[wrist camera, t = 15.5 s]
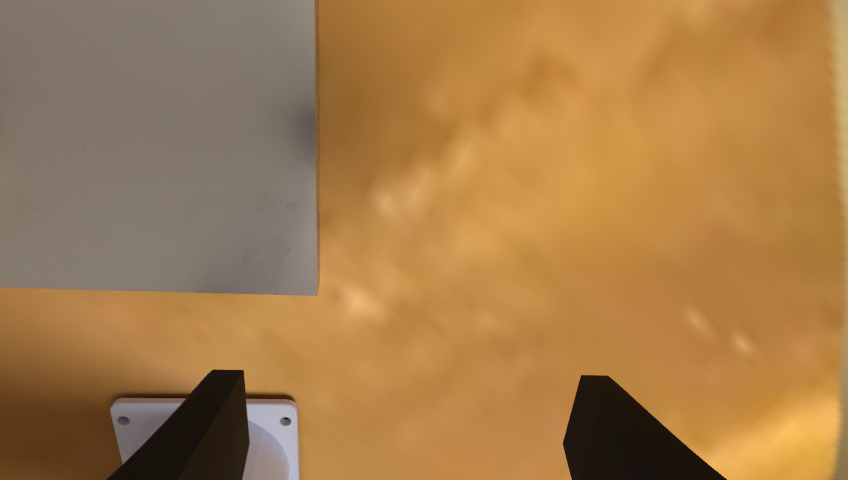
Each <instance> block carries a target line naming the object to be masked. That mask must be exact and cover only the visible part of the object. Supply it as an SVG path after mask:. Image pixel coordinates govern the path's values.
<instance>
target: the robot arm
mask: <svg viewBox="0 0 848 480" xmlns="http://www.w3.org/2000/svg"><path fill="white" fill-rule="evenodd" d="M110 413H111V417H112V421H113V426H114V430H115V434H116V439H117V443H118V447H119V452H120V456H121V460H122V465H121V466H120V467H119V468H118V469H117V470H116V471H115V472H114V473H113V474H112V475H111V476H110V477H109V478H108V479H107V480H300V470H299V437H298V407H297V404H296V403H295V402H294V401H292V400H288V399H246V394H245V382H244V370H212V371H211V372H210V373H209V374H207V376H206V377H205V378H204V379H203V380H202V381H201V382H200V383H199V385H198V386H197V387H196V388H195V389H194V390H193V391H192V393H191V394H190V395H189V396H188V397H187V398H119V399H117V400H115V402H114V403H113V405H112V406H111V408H110ZM122 416H123V417H122ZM124 417H127V418H128V419H126V418H124ZM283 417H288V418H290V419H284V418H283ZM563 446H564V450H565V454H566V458H567V462H568V467H569V470H570V474H571V478H572V480H727V479H726V478H724V477H723V476H722V475H721V474H719V473H718V472H717V471H716V470H714V469H713V468H712V467H711V466H709V465H708V464H707V463H706V462H705V461H703V460H702V459H701V458H700V457H699V456H698V455H696V454H695V453H694V452H693V451H692V450H691V449H689V448H688V447H687V446H686V445H685V444H684V443H682V442H681V441H680V440H679V439H678V438H677V437H676V436H674V435H673V434H672V433H671V432H670V431H669V430H668V429H667V428H666V427H664V426H663V425H662V424H661V423H660V422H659V421H658V420H657V419H656V418H654V417H653V416H652V415H651V414H650V413H649V412H648V411H647V410H646V409H645V408H644V407H642V406H641V405H640V404H639V403H638V402H637V401H636V400H635V399H634V398H633V397H631V396H630V395H629V394H628V393H627V392H626V391H625V390H624V389H623V388H622V387H620V386H619V385H618V384H617V383H616V382H615V381H614V380H612V379H611V378H610V377H609V376H594V375H581V378H580V381H579V385H578V389H577V393H576V396H575V400H574V404H573V408H572V411H571V415H570V419H569V423H568V426H567V430H566V434H565V438H564V441H563Z"/></svg>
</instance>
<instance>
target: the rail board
mask: <svg viewBox="0 0 848 480" xmlns="http://www.w3.org/2000/svg"><path fill="white" fill-rule="evenodd" d="M319 284H320V263H319V92H318V0H0V287H17V288H53V289H89V290H125V291H161V292H197V293H233V294H269V295H305V296H317V294H318V289H319Z"/></svg>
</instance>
